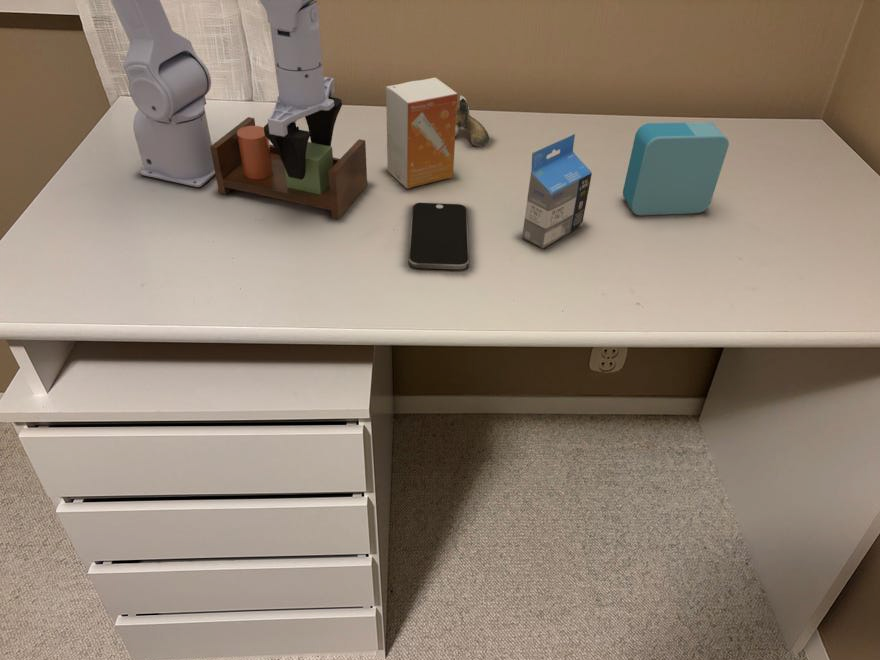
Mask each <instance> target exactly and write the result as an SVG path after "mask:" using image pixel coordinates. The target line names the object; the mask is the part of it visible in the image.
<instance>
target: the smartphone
mask: <svg viewBox="0 0 880 660" xmlns="http://www.w3.org/2000/svg"><path fill="white" fill-rule="evenodd" d="M468 224H469V223H468V209H467V207H466V206H465V205H463V204H459V203H438V202H437V203H436V202H434V203H433V202H431V203H430V202H417V203H415V204H413V205H412V206H411V219H410V231H409V241H408V247H409V248H408V265H409V266H410V267H412V268H416V269H435V270H440V269H441V270H464V269H467V268H468V267H469V265H470V245H469V227H468V226H469V225H468Z"/></svg>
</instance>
